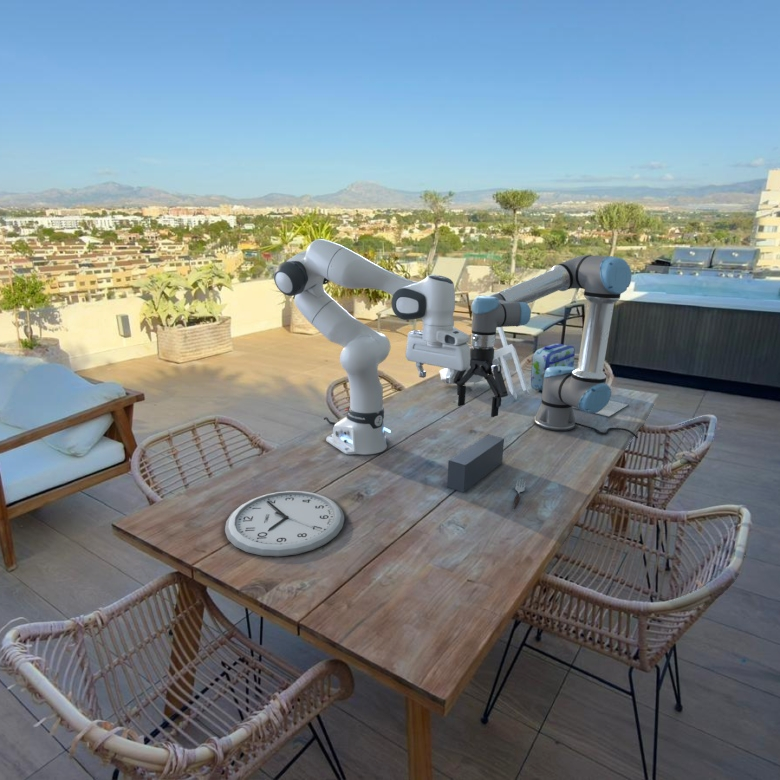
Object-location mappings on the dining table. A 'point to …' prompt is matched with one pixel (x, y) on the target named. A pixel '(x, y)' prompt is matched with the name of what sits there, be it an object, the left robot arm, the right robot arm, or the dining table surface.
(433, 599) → the dining table surface
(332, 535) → the wall clock
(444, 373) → the white plastic object
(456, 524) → the dining table surface
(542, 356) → the lunch box
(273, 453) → the dining table surface
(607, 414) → the invitation card
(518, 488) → the fork
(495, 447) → the bar
